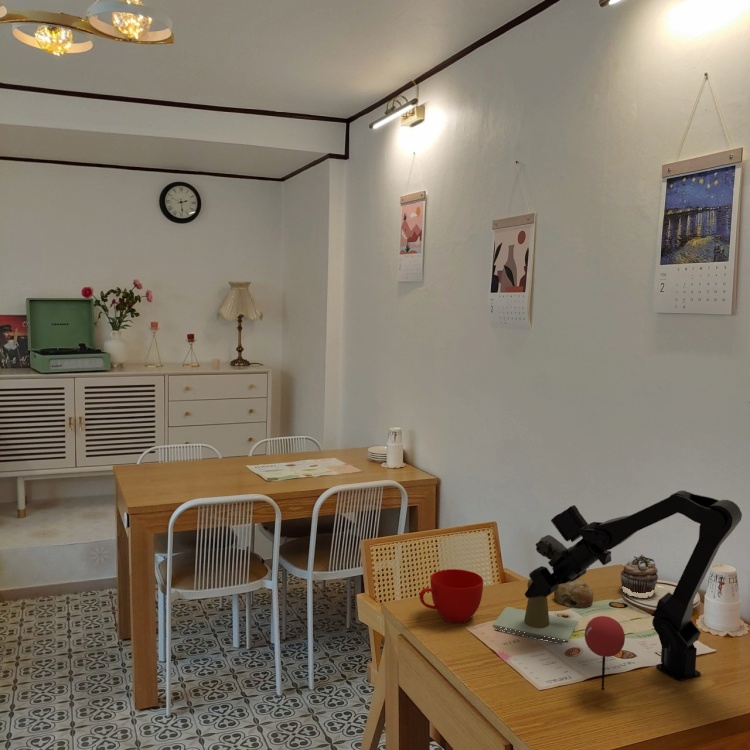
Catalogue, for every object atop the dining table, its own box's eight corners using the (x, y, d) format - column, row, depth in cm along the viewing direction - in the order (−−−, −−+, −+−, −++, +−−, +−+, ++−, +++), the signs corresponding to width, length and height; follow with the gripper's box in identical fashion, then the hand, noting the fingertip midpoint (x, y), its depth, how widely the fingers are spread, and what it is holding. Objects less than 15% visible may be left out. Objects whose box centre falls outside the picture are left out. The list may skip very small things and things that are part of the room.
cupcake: (632, 583, 210) (633, 548, 209) (663, 594, 203) (665, 558, 202) (612, 591, 204) (613, 555, 203) (644, 602, 197) (646, 565, 196)
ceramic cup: (406, 615, 187) (407, 576, 186) (462, 603, 194) (463, 566, 193) (433, 636, 175) (434, 594, 174) (492, 622, 183) (494, 583, 182)
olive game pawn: (552, 621, 183) (554, 577, 182) (544, 630, 178) (547, 585, 177) (528, 615, 186) (530, 572, 185) (520, 624, 181) (522, 580, 180)
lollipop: (591, 675, 158) (595, 607, 156) (627, 688, 153) (631, 617, 151) (576, 689, 152) (579, 618, 150) (613, 703, 147) (616, 629, 145)
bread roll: (552, 615, 196) (552, 594, 192) (555, 586, 205) (555, 565, 201) (592, 621, 194) (593, 599, 190) (593, 591, 202) (594, 569, 198)
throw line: (563, 641, 173) (563, 640, 173) (562, 644, 172) (562, 643, 172) (496, 627, 180) (496, 626, 180) (494, 630, 179) (494, 629, 179)
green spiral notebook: (578, 622, 184) (578, 620, 184) (568, 642, 173) (568, 640, 173) (506, 608, 191) (506, 606, 191) (492, 626, 181) (492, 624, 181)
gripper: (576, 519, 184) (535, 553, 192) (538, 537, 170) (495, 572, 178) (605, 558, 179) (561, 590, 187) (568, 579, 165) (523, 613, 174)
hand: (535, 590), depth 182 cm, fingers open, 9 cm apart
